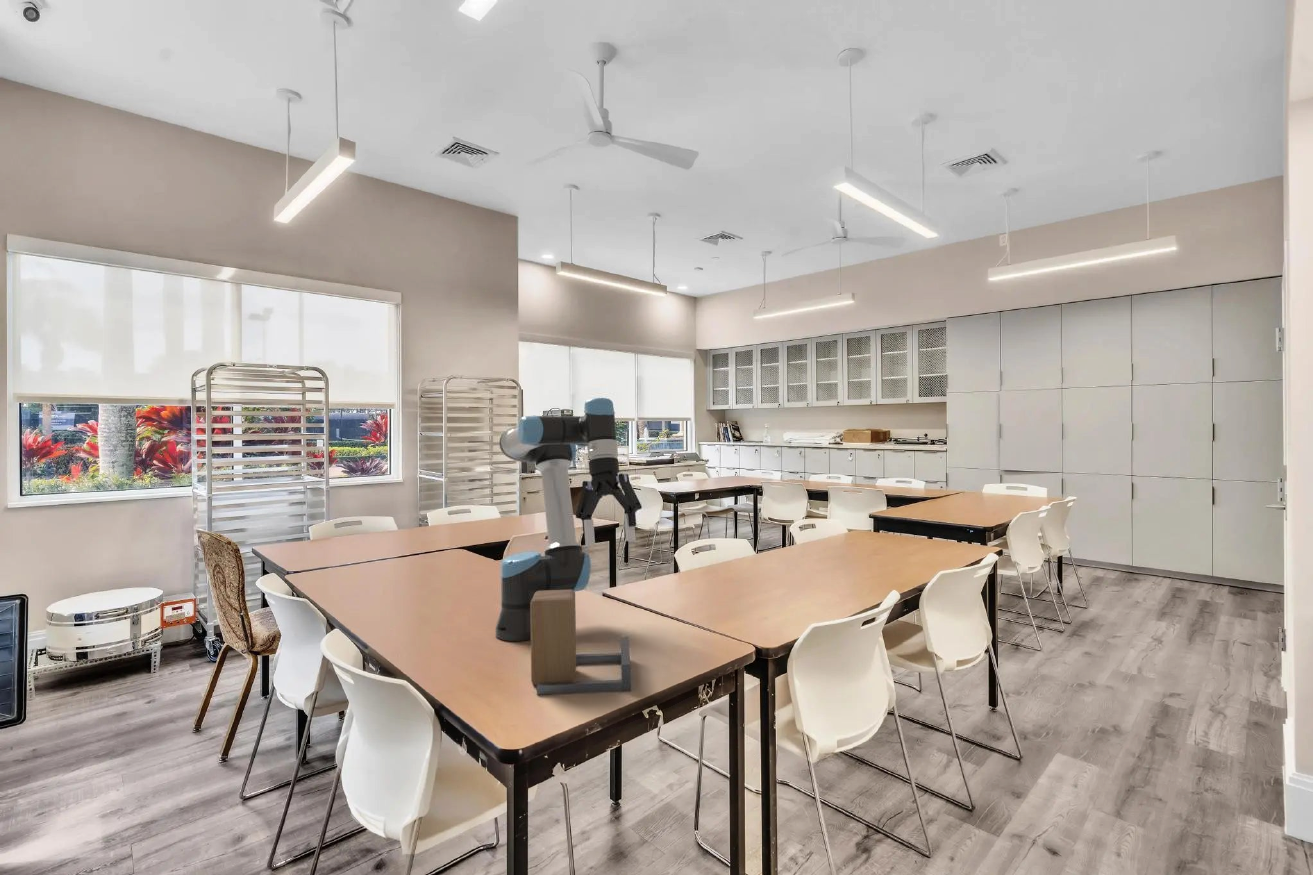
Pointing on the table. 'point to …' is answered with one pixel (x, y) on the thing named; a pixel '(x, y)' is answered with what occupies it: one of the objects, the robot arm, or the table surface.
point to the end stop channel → (598, 685)
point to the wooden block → (553, 636)
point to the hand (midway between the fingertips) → (610, 543)
